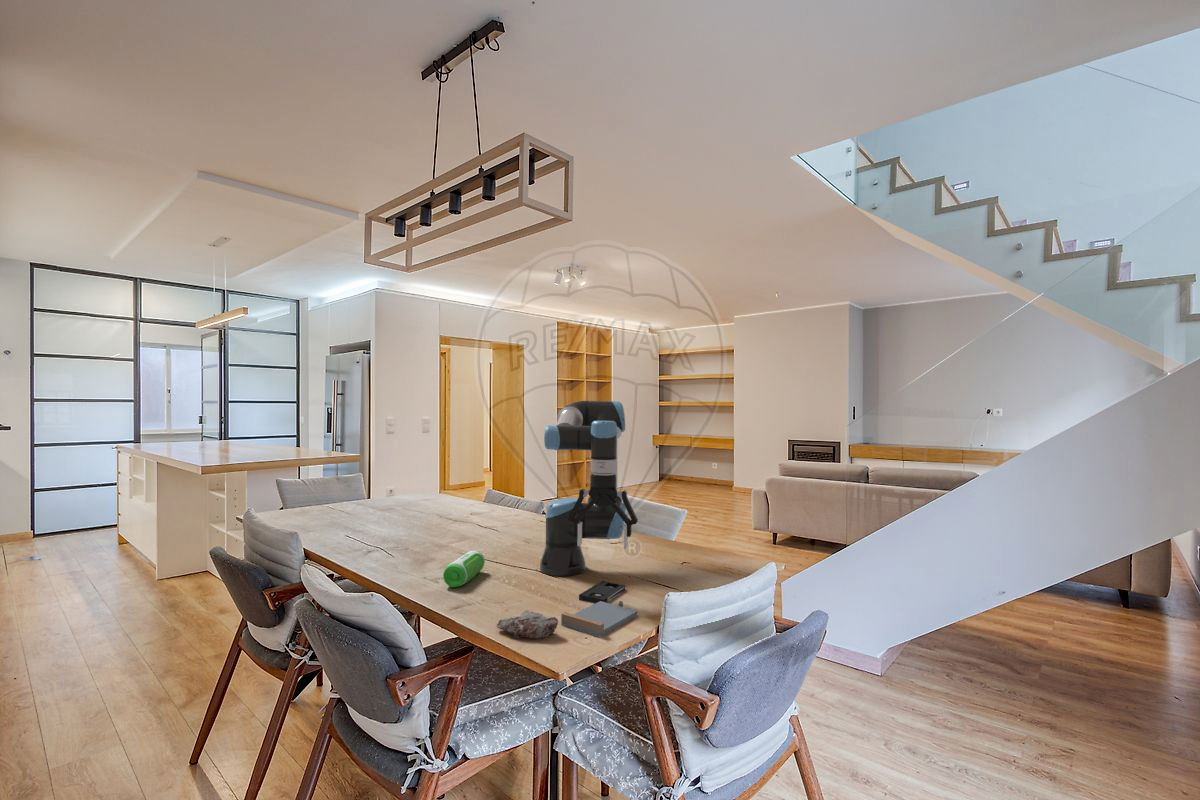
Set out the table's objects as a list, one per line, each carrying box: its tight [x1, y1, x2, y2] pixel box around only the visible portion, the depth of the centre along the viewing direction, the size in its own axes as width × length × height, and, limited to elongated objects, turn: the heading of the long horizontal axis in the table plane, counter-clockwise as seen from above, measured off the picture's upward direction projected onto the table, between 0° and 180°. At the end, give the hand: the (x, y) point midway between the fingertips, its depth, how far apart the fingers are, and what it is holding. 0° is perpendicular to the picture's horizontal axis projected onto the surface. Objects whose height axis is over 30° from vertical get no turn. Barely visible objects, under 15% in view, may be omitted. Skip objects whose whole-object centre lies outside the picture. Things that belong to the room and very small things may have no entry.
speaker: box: [442, 550, 486, 588], centre depth 176 cm, size 18×7×8 cm, turn 170°
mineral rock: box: [495, 610, 559, 640], centre depth 136 cm, size 15×8×4 cm, turn 61°
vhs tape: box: [578, 580, 626, 604], centre depth 164 cm, size 14×8×2 cm, turn 152°
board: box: [560, 600, 638, 638], centre depth 146 cm, size 12×19×3 cm, turn 145°
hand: (602, 546), depth 164 cm, fingers open, 13 cm apart
